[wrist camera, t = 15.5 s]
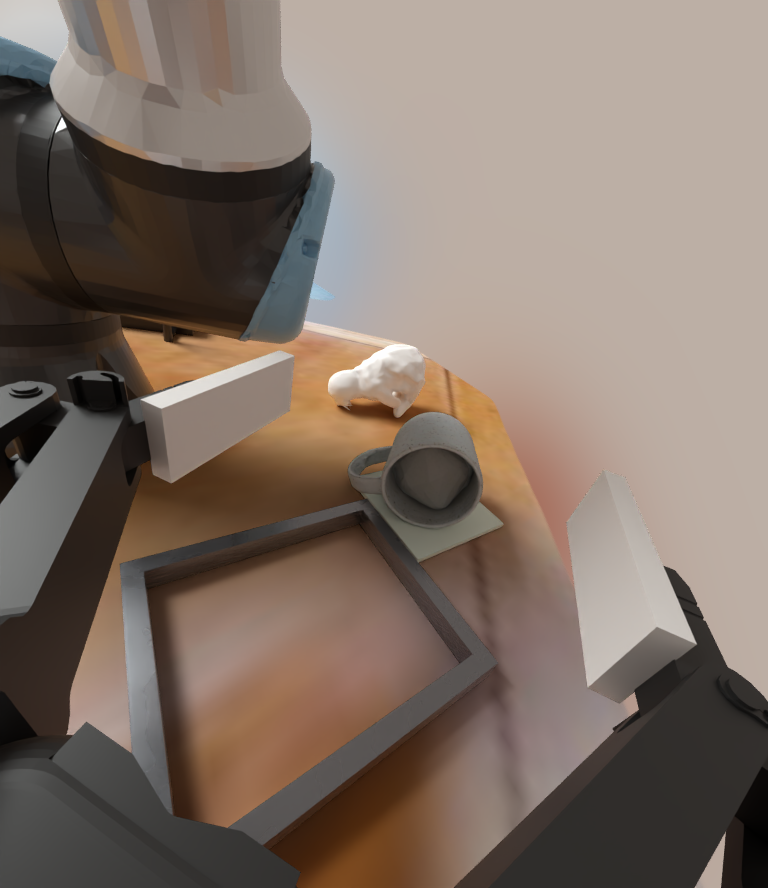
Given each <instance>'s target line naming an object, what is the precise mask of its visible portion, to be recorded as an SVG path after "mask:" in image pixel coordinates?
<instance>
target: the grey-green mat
mask: <svg viewBox="0 0 768 888" xmlns="http://www.w3.org/2000/svg"><path fill="white" fill-rule="evenodd" d="M382 472H383V471H378V472H373V473H369V474H364V475H360V476H365V477H381V476H382ZM360 493H361V494H362V495H363V496H364V498H365V499H368V500H369V501H370V503H371V504H372V505H373V506H374V508H375V509H376V510H377V511H378V513H379V514H380V515H381V517H382V518H383V519H384V520H385V522H386V523H387V524H388V525H389V527H390V528H391V529H392V530H393V532H394V533H395V534H396V535H397V537H398V538H399V539H400V540H401V542H402V543H403V544H404V545H405V547H406V548H407V549H408V550H409V552H410V553H411V554H412V555H413V557H414V558H415V559H416V560H417V562H418V563H419V562H421V561H423V560H426V559H428V558H430V557H432V556H435V555H437V554H439V553H442V552H444V551H446V550H449V549H451V548H453V547H456V546H458V545H460V544H463V543H465V542H467V541H470V540H472V539H474V538H477V537H479V536H481V535H484V534H486V533H488V532H491V531H493V530H495V529H498V528H500V527H502V526H503V524H504V523H503V522H501V521H500V520H499V519H498V518H497V517H496V516H495V515H494V514H493V513H491V512H490V511H489V510H488V509H487V508H486V507H485V506H484V505H483V504H481V503H480V502H478V504H477V506H476V508H475V509H474V510H473V511H472V512H471V513H470V515H469V516H467V517H466V518H465V519H463V520H462V521H460V522H458V523H456V524H454V525H452V526H447V527H443V528H424V527H420V526H415V525H413V524H410V523H408V522H406V521H404V520H402V519H401V518H399V517H398V516H396V515H395V514H394V513H393V512H392V511H391V510H390V509H389V507H388V506H387V504H386V502H385V501H384V498H383V496H382V494H367V493H362V492H360Z"/></svg>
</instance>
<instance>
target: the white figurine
mask: <svg viewBox="0 0 768 888" xmlns="http://www.w3.org/2000/svg"><path fill="white" fill-rule="evenodd" d="M424 375H425V361H424V359H423V357H422V355H421V354H420V352H419V350H418V349H417V348H415V347H413V346H409V345H406V344H397V345H391V346H388V347H386V348H385V349H383V350H380V351H378V352H376V353H374V354H373V355H372V356H371V357H370V358H369V359H367V360H364V361H363V362H362V364H361V365H359V366H357V367H355V368H354V369H353V370H344V371H340V372H337V373H335V374H334V375H333V376H332V377H331V378H330V380H329V383H328V392H329V394H330V396H331V397H332V398H333V399H334V400H335V402H336V404H337V406H339V405H341V406H344V407H345V408H347V407H346V406H353V405H348V404H351V403H350V400H353V399H356V398H366V399H369V400H372V401H380V402H381V403H383V404H385V405H387V406H389V407H392V408H394V409H393V414H394V416H395V417H397V418H399V417H401V416H402V415H403V414H404V412H405V411H406V410H407V409H408V408H410V407H411V405H412V403H413V402H414V401H415V399H416V398H417V396H418V395H419V393H420V391H421V389H422V387H423V385H424V384H425V378H424ZM347 409H348V408H347ZM348 410H350V409H348Z"/></svg>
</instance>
